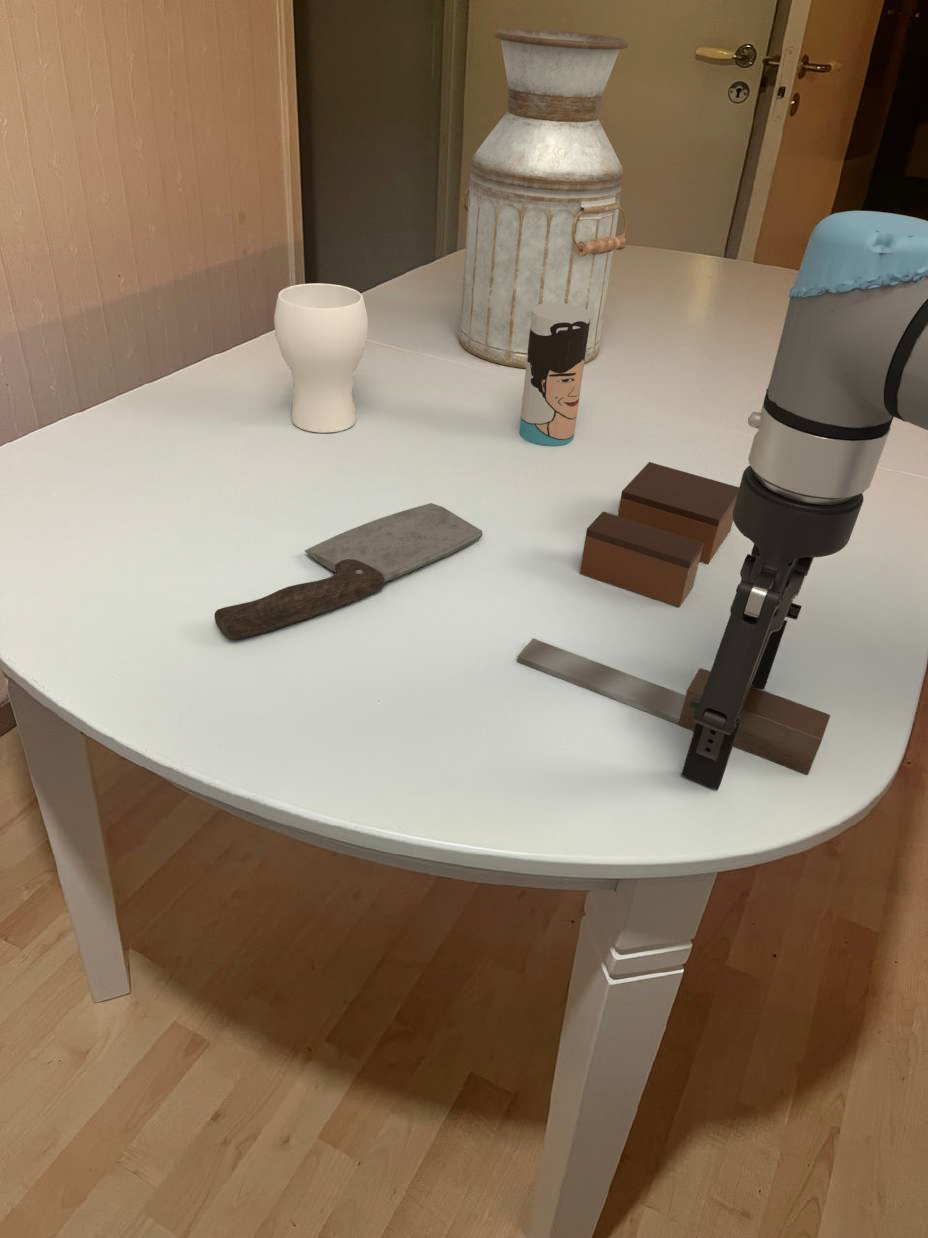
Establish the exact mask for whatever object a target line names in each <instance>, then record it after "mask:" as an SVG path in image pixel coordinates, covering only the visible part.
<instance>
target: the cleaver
mask: <svg viewBox="0 0 928 1238" xmlns="http://www.w3.org/2000/svg"><path fill="white" fill-rule="evenodd" d="M483 535H484V534H483V530H482V529H480V528H478V527H477V526H475V525H473V524H472V523H471V522H468V521H467V520H465V519H463V518H462V517H460V516H459V515H457V514H455V513H453V512H452V511H450V510H448V509H447V508H445V507H443V506H442V505H439V504H436V503H432V502H430V503H427V504H423V505H419V506H416V507H411V508H409V509H405V510H401V511H398V512H396V513H395V512H394V513H393V514H389V515H387V516H383V517H380V518H378V519H375V520H372V521H369V522H366V523H364V524H361V525H359V526H356V527H353V528H350V529H349V530H346V531H344V532H341V533H339V534H337V535H335V536H332V537H329V538H328V539H326V540H324V541H322V542H319V543H317V544H315V545H313V546H311V547H309V548H307V549H305V550H304V553H306V554H307V555H309V556H310V557H311V558H312V559H314V560H315V561H316V562H317V563H319V564H321V565H322V566H323V567H326V568H327V569H329V570H331V571H332V572H334V573H335V574H333V575H331V576H329V577H326V578H323V579H318V580H314V581H309V582H303V583H302V582H301V583H297V584H294V585H290V586H285V587H284V588H281V589H278V590H276V591H274V592H272V593H270V594H267V595H265V596H263V597H261V598H258V599H254V600H251V601H248V602H243V603H238V604H234V605H229V606H224V607H221V608H218V609H216V611H215V612H214V622H215V625H216V627H217V628H218V630H219V631H220V632H221V633H222V634H223V635H224V636H225V637H226V638H228V639H230V640H231V639H232V640H236V639H243V638H247V637H251V636H255V635H259V634H263V633H266V632H270V631H274V630H277V629H279V628H283V627H286V626H289V625H291V624H295V623H298V622H301V621H304V620H306V619H310V618H312V617H315V616H318V615H321V614H325V613H328V612H331V611H333V610H335V609H339V608H341V607H344V606H346V605H349V604H352V603H354V602H356V601H359V600H362V599H364V598H366V597H368V596H370V595H372V594H375V593H377V592H378V591H381V590H382V589H383V587H384V586H385V583H387V582H390V581H392V580H394V579H397V578H399V577H401V576H404V575H406V574H408V573H410V572H412V571H415V570H417V569H420V568H422V567H424V566H426V565H429V564H432V563H433V562H435V561H439V560H441V559H443V558H445V557H447V556H449V555H451V554H454V553H455V552H456V553H457V552H458V551H459V550H462V549H463V548H465V547H468V546H469V545H471V544H473V543H474V542H477V541H478V540H480V539H481V538H483Z"/></svg>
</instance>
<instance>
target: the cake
mask: <svg viewBox="0 0 928 1238" xmlns="http://www.w3.org/2000/svg"><path fill="white" fill-rule="evenodd" d="M739 487H740V486H736V485H733V484H729V483H726V482H722V481H718V480H715V479H711V478H708V477H705V476H701V475H697V474H693V473H690V472H687V471H683V470H679V469H676V468H672V467H669V466H666V465H662V464H658V463H655V462H651V461H649V462H647V463H646V465H645V466H644V467H642V469H641V470H640V471H639V472H638V473H637V474H636V475H635V476H634V477H633V478H632V480H631V481H630V482H629V483H628V484H627V485H626V486H625V487H624V488H623V489H622V490H621V494H620V500H619V505H618V510H617V516H620V517H623V518H626V519H629V520H632V521H636V522H639V523H642V524H645V525H649V526H652V527H655V528H658V529H662V530H665V531H668V532H671V533H674V534H678V535H681V536H684V537H687V538H691V539H694V540H697V541H700V542H703V543H704V544H703V548H702V552H701V556H700V560H699V562H701V563H704V564H707V565H708V564H709V563H710V562H711V560H712V559H713V557H714V556H715V554H716V553H717V551H718V550H719V548H720V547H721V545H722V544H723V543H724V541H725V539H726V538H727V537H728V535H729V533H730V532H731V530H732V527H733V523H734V520H733V509H734V505H735V501H736V498H737V494H738V490H739Z"/></svg>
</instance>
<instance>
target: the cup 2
mask: <svg viewBox="0 0 928 1238" xmlns="http://www.w3.org/2000/svg"><path fill="white" fill-rule="evenodd" d="M590 319H591V313H590V312H589V311H588V310H586V309H585V308H582V307H580V306H576V305H572V304H566V303H542V304H538V305H536V306H534V307H533V309H532V314H531V324H530V333H529V343H528V353H527V362H526V368H525V373H524V382H523V383H524V384H523V390H522V391H523V392H522V402H521V412H520V421H519V429H518V430H519V432H518V434H519V436H520V437H521V439H524V440H525V441H527V442H528V443H531V444H535V445H538V446H544V447H560V446H565V445H568V444H570V443H571V442H572V441H574V437H575V430H576V424H577V416H578V412H579V411H578V410H579V404H580V397H581V389H582V382H583V376H584V375H583V374H584V367H585V363H584V361H585V354H586V347H587V340H588V333H589V326H590Z"/></svg>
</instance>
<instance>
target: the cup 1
mask: <svg viewBox="0 0 928 1238" xmlns="http://www.w3.org/2000/svg"><path fill="white" fill-rule="evenodd" d="M274 309H275V310H274V316H273V321H274V322H273V323H274V336H275V339H276V343H277V345H278V347H279V348H278V349H279V350H280V354H281V356H282V358H283V360H284V362H285V363H286V366H287V367H288V369H289V370H290V372H291V377H292V382H293V388H294V395H293V404H292V412H291V421H292V423H293V425H294V426H296V427H297V428H299V429H300V430H301V429H302V430H304V431H307V432H313V433H323V434H326V433H327V434H329V433H336V432H342V431H345V430H348V429H349V428H351V427H353V426H354V425H355V423H356V421H357V417H356V409H355V404H354V398H353V392H352V390H353V383H354V375H355V372H356V370H357V368H358V366H359V364H360V362H361V360H362V358H363V356H364V352H365V349H366V345H367V342H368V337H369V317H368V313H367V308H366V304H365V300H364V296H363V295H362V293H361V292H359V291H358V290H357V289H354V288H352V287H348V286H345V285H340V284H335V283H333V284H332V283H321V282H318V283H317V282H315V283H301V284H296V285H290V286H287V287H285V288H283V289H281V290H280V291H279V292H278V295H277V298H276V305H275V308H274Z"/></svg>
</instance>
